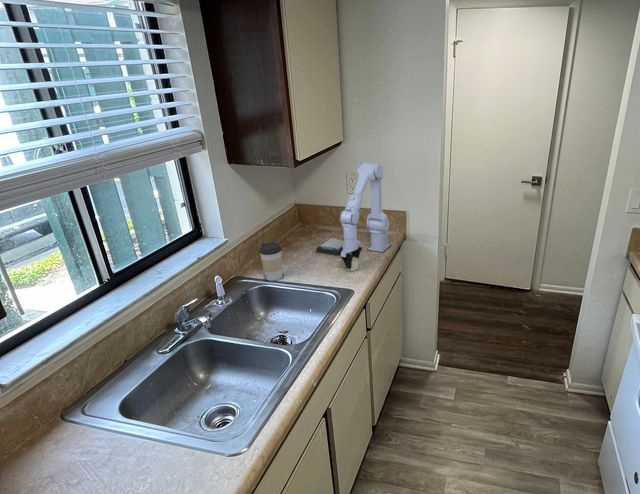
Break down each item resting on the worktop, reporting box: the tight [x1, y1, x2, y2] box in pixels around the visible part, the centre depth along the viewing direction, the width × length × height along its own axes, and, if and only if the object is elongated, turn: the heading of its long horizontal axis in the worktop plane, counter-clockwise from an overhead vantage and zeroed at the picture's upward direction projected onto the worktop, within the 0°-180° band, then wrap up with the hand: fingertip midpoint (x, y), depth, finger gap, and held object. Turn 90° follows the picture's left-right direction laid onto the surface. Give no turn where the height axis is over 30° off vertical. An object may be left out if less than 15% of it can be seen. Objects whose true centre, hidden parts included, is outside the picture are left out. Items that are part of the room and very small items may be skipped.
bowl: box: [345, 257, 359, 272], centre depth 193 cm, size 6×6×4 cm
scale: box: [316, 238, 344, 256], centre depth 214 cm, size 12×12×3 cm
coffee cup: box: [258, 242, 283, 282], centre depth 184 cm, size 9×9×15 cm
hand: (352, 265), depth 194 cm, fingers closed on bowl, 5 cm apart
